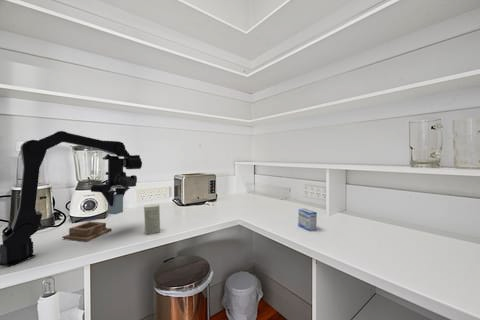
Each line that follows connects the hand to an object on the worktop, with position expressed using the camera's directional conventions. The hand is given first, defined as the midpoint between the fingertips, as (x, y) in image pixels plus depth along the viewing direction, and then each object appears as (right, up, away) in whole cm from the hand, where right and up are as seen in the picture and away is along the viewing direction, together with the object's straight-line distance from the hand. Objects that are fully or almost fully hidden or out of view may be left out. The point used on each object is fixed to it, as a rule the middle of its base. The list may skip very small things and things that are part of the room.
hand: (115, 204), depth 87 cm
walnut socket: (-11, -13, -2) cm, 17 cm away
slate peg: (0, -4, 0) cm, 4 cm away
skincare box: (+16, -13, +2) cm, 20 cm away
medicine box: (+88, -14, +9) cm, 90 cm away
